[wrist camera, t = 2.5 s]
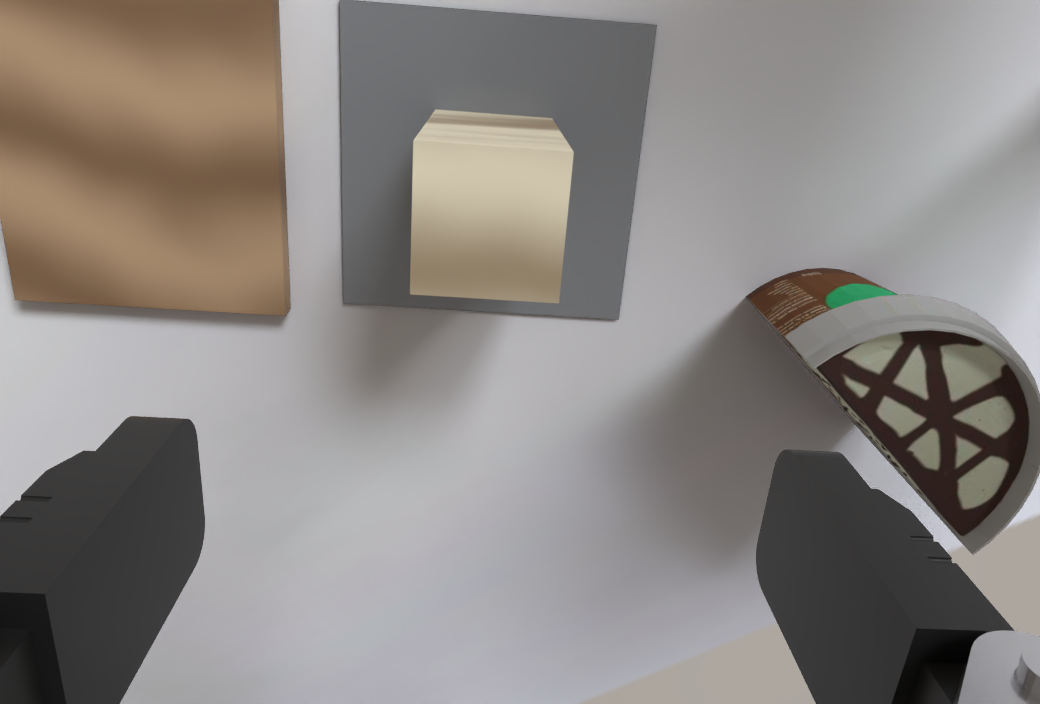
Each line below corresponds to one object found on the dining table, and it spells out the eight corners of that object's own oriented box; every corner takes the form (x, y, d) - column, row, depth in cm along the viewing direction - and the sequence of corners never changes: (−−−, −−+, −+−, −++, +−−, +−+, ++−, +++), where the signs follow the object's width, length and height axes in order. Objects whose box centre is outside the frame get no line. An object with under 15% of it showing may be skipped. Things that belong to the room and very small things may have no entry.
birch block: (435, 109, 34) (412, 140, 24) (551, 118, 34) (573, 152, 25) (431, 224, 35) (409, 294, 26) (542, 231, 36) (558, 303, 26)
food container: (972, 366, 39) (1120, 471, 30) (869, 441, 41) (979, 563, 31) (835, 185, 36) (955, 240, 26) (726, 275, 37) (804, 357, 28)
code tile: (340, -1, 32) (339, -1, 32) (655, 25, 33) (656, 24, 33) (343, 301, 37) (343, 303, 37) (617, 317, 38) (618, 319, 37)
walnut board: (-32, -45, 31) (-48, -47, 30) (277, -20, 32) (271, -21, 31) (27, 292, 36) (14, 299, 35) (290, 308, 37) (285, 315, 36)
